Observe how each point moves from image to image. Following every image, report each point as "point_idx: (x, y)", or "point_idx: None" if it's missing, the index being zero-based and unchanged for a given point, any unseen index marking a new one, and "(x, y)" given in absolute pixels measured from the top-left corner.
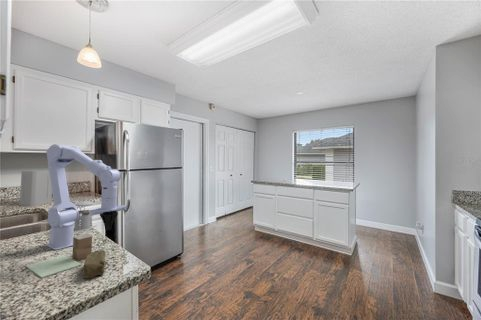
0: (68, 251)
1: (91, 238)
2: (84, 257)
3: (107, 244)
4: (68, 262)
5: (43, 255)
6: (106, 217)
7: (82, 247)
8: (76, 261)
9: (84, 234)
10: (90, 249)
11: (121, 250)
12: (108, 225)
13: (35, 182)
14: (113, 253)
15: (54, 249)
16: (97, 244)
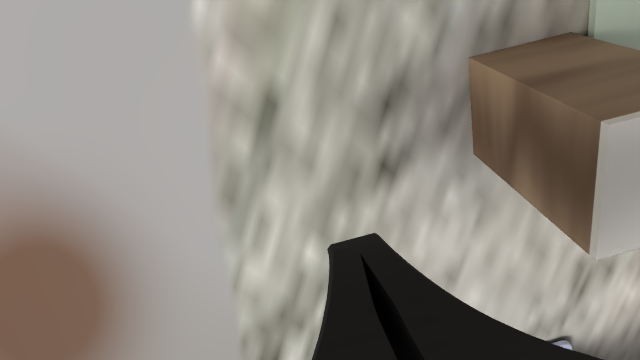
0: (523, 281)
1: (589, 109)
2: (530, 47)
3: (272, 276)
4: (638, 29)
5: (636, 291)
6: (580, 353)
7: (621, 64)
8: (598, 4)
9: (628, 233)
10: (514, 74)
11: (205, 37)
12: (402, 266)
13: None
14: (295, 4)
15: (570, 345)
16: None
